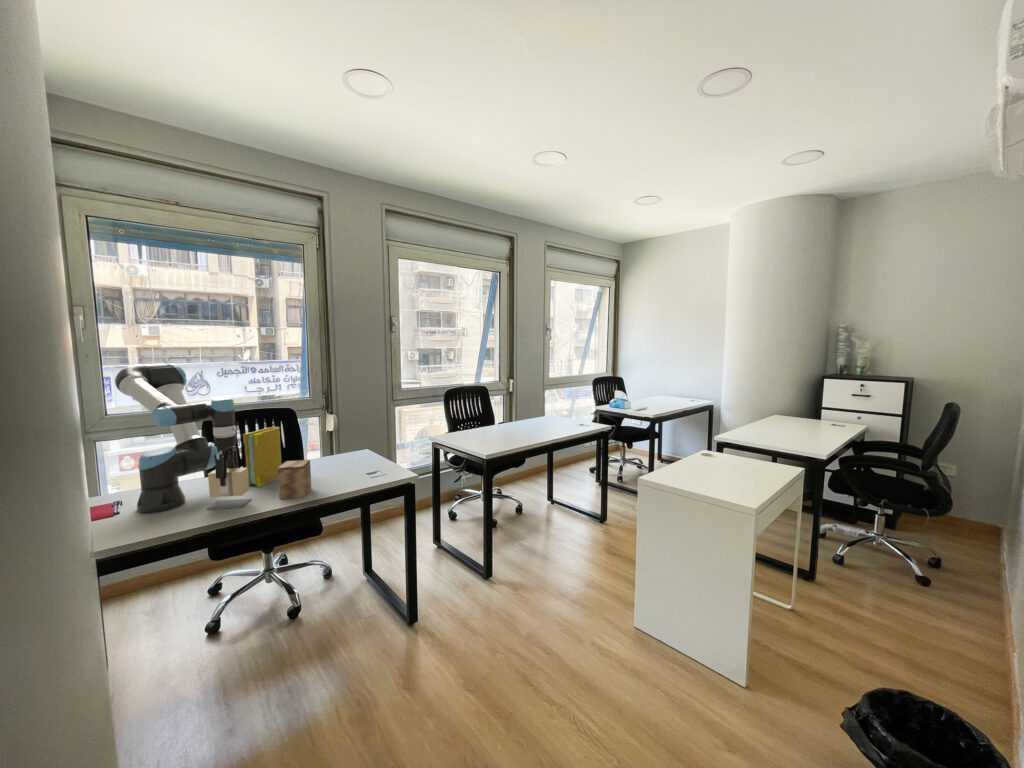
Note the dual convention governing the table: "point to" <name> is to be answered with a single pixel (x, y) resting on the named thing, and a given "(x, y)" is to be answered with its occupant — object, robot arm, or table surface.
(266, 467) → the book
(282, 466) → the wooden box
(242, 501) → the pad
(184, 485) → the table surface
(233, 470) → the blank
